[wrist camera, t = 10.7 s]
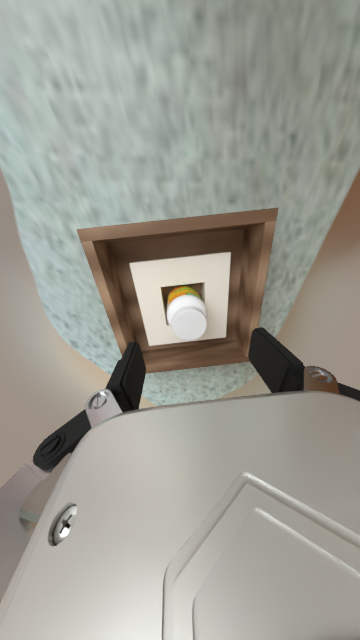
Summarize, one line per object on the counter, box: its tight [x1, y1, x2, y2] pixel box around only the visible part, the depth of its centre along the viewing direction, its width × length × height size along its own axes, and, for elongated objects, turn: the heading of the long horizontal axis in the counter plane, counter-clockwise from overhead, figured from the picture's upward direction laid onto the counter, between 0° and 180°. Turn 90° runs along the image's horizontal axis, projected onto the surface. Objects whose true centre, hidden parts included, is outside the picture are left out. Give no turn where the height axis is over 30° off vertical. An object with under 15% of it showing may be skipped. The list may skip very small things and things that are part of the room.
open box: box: [77, 208, 278, 373], centre depth 23 cm, size 22×22×6 cm
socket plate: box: [129, 252, 231, 346], centre depth 24 cm, size 14×14×2 cm
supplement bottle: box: [167, 285, 207, 341], centre depth 20 cm, size 5×5×10 cm
